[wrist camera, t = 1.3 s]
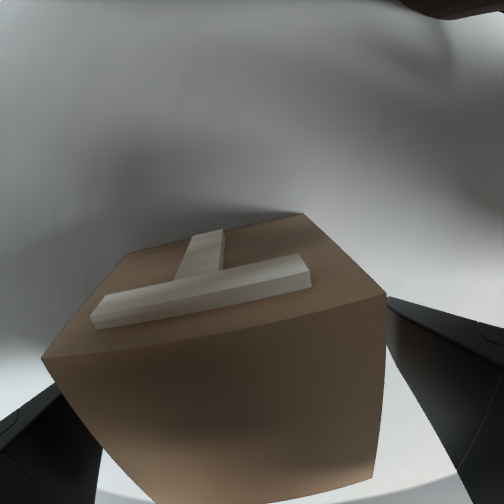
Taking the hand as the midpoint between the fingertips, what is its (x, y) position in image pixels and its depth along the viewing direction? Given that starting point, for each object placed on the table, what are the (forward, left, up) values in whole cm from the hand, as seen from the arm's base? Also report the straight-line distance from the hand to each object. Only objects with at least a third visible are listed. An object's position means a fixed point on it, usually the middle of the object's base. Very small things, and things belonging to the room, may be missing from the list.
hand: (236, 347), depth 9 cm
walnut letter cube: (0, 0, -2) cm, 2 cm away
